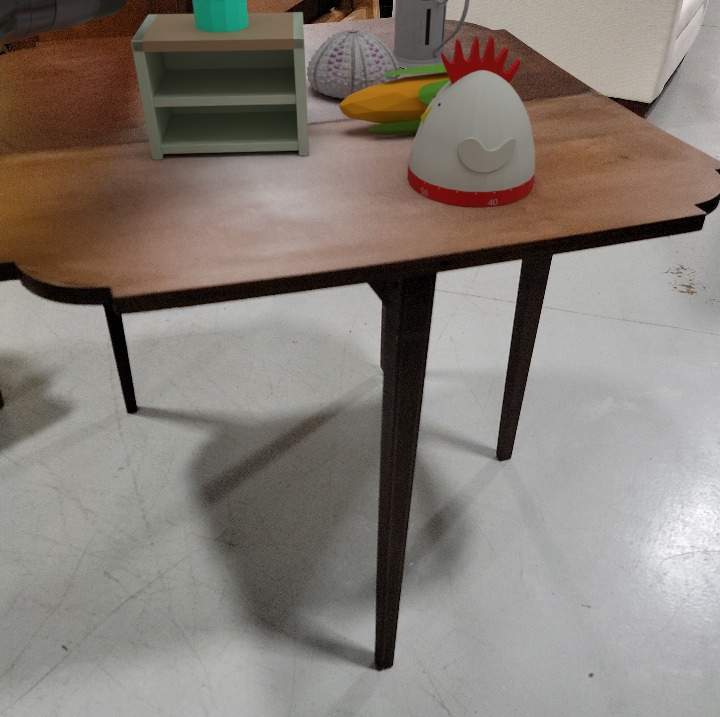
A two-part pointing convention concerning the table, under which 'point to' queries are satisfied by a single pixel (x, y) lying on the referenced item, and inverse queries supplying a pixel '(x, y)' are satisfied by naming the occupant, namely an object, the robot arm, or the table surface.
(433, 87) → the corn
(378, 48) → the sea urchin shell
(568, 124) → the table surface
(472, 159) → the kitchen timer
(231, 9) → the candle
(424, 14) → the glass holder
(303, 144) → the rack
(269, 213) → the table surface
